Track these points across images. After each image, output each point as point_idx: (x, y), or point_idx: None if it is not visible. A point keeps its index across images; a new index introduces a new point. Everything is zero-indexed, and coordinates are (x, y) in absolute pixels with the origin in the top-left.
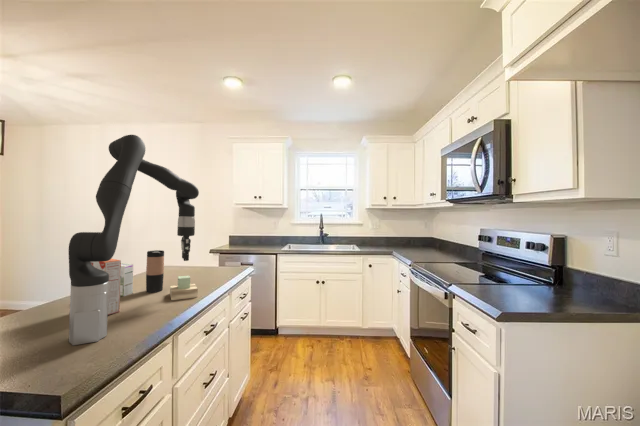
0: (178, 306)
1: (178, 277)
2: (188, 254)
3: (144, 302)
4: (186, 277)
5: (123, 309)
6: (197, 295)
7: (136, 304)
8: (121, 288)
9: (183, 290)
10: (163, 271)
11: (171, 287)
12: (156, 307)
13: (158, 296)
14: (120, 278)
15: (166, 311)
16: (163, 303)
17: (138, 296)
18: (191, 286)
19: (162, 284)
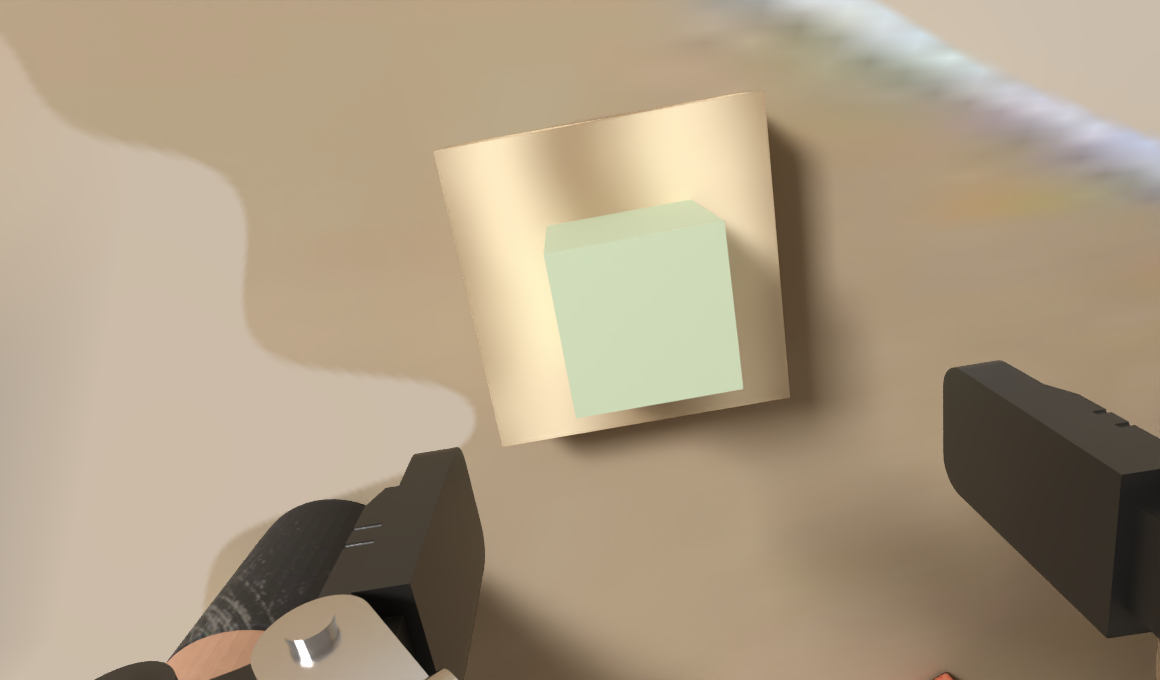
0: (1001, 269)
1: (657, 401)
2: (1127, 447)
3: (743, 566)
4: (691, 284)
5: (884, 661)
6: (739, 93)
7: (781, 610)
8: None
9: (777, 271)
10: (244, 652)
11: (589, 423)
12: (941, 450)
13: (573, 494)
14: None
15: (1102, 354)
16: (839, 414)
17: (524, 648)
18: (605, 186)
19: (324, 537)
